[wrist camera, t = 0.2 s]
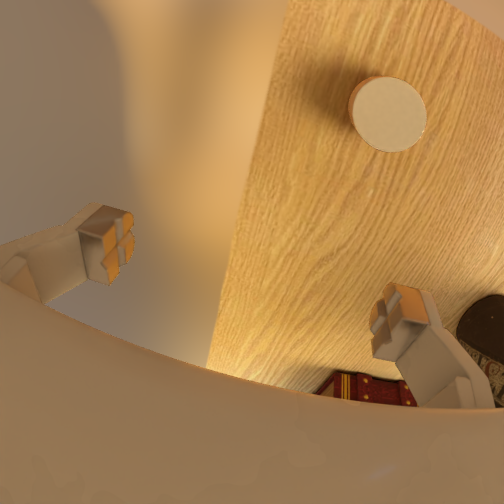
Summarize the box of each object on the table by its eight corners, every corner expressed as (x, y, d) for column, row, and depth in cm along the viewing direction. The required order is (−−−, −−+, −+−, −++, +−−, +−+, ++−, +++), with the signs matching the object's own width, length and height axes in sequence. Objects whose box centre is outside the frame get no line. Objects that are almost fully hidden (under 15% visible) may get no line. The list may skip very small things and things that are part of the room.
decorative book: (335, 366, 34) (334, 402, 30) (432, 384, 34) (437, 414, 30) (301, 404, 41) (298, 433, 37) (390, 417, 41) (391, 443, 37)
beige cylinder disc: (389, 63, 16) (401, 63, 13) (423, 122, 17) (439, 131, 15) (332, 96, 18) (336, 100, 15) (370, 152, 20) (378, 166, 17)
